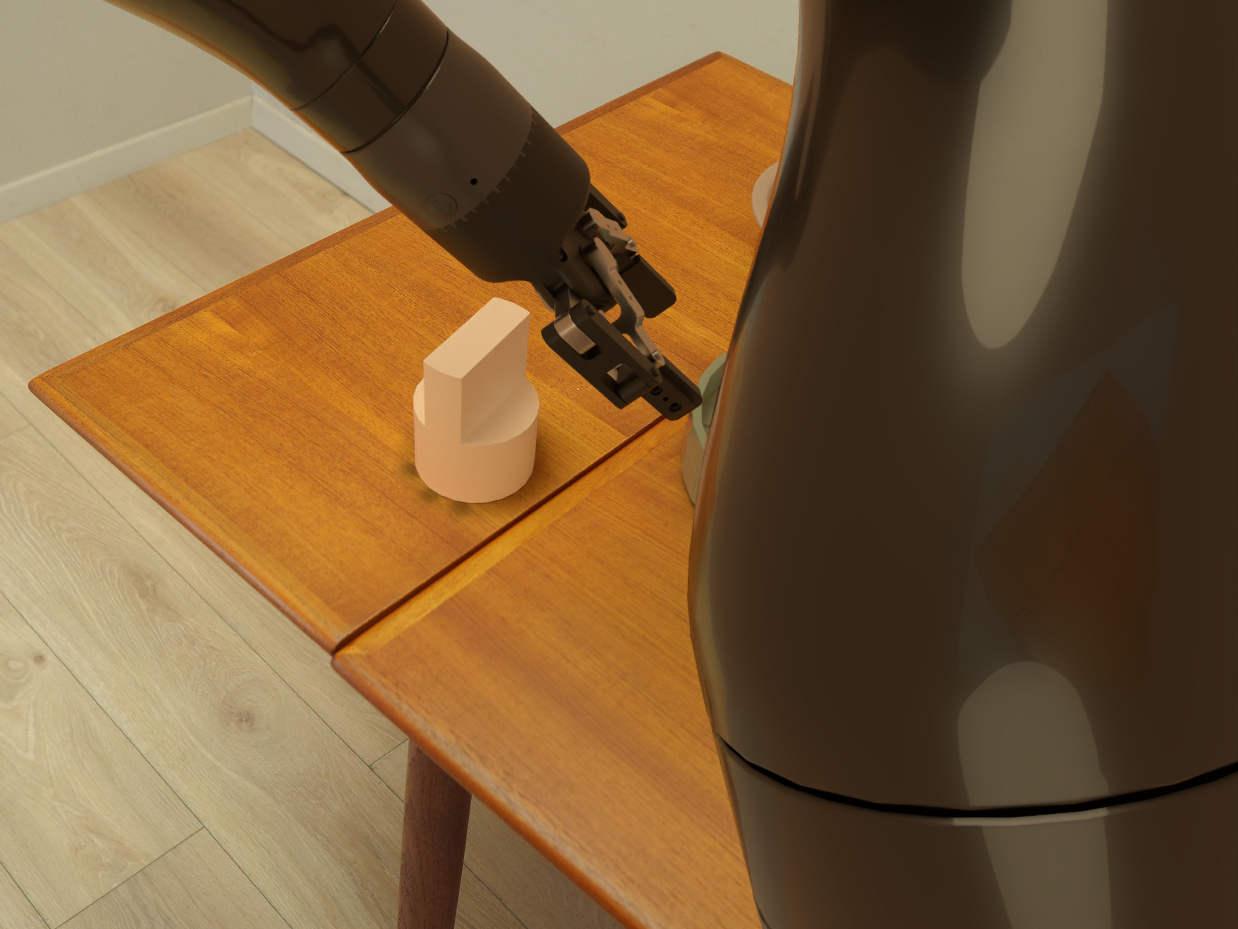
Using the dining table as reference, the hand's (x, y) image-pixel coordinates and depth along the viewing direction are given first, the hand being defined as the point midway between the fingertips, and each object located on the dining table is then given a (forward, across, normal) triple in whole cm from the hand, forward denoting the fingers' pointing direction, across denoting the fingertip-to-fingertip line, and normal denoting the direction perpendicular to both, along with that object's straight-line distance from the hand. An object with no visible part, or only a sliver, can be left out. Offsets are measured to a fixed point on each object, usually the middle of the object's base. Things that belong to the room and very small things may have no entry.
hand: (675, 354), depth 58 cm
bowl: (+26, +10, +4) cm, 29 cm away
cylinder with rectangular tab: (+8, +13, +22) cm, 27 cm away
